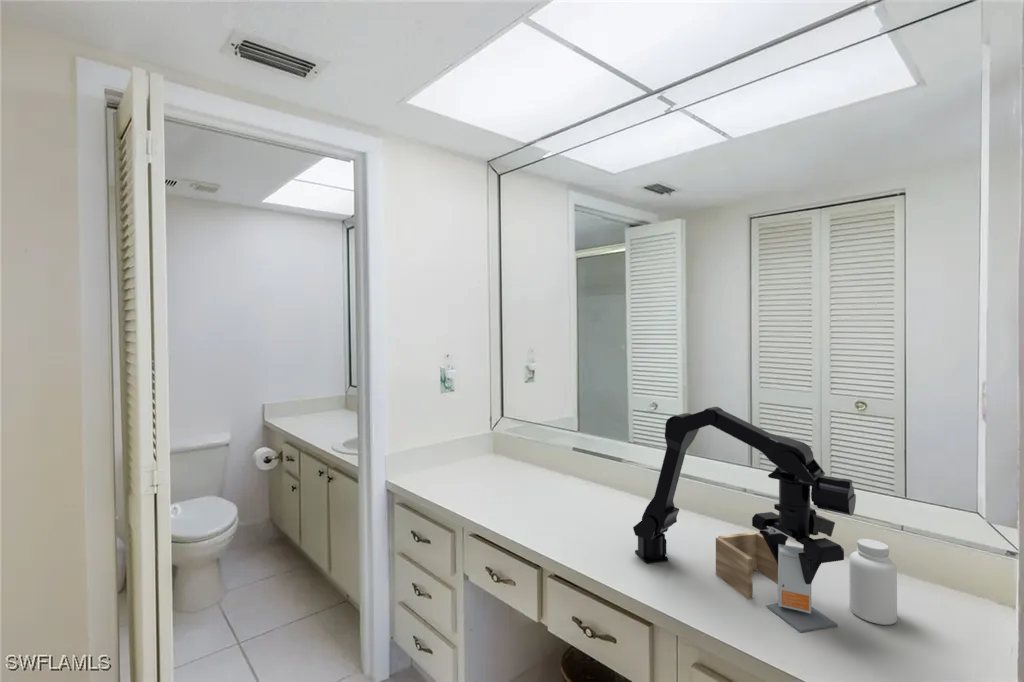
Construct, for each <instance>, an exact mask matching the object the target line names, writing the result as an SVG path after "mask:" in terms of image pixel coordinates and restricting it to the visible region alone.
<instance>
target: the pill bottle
mask: <svg viewBox="0 0 1024 682" xmlns="http://www.w3.org/2000/svg"><path fill="white" fill-rule="evenodd" d="M856 546H857V547H856V551H853V552H851V554H850V555H849V557H848V559H849V562H848V563H849V566H848V567H849V571H848V572H849V573H848V574H849V586H848V587H849V592H848V593H849V608H850V610H851V612H852V613H853V614H854V615H855V616H856V617H858V618H860V619H862V620H864V621H866V622H870V623H874V624H877V625H884V626H890V625H893V624H895V623H896V622H897V620H898V570H897V566H896V564H895V562H894V561H893V559H891V558H890V556H889V555H890V547H889V546H888V545H887V544H886V543H884V542H882V541H879V540H875V539H872V538H871V539H870V538H860V539H858V540H857V541H856Z"/></svg>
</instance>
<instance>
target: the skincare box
mask: <svg viewBox="0 0 1024 682" xmlns="http://www.w3.org/2000/svg"><path fill="white" fill-rule="evenodd" d="M803 552H804V551H803V547H798V546H794V545H788V544H786V545H782V544H778V584H777V601H778V602H777V603H779V606H780V607H785V608H790V609H794V610H798V611H802V612H806V613H810V614H811V606H812V585H813V582H812V583H811V584H806V583H805V581H804V577H803V573H802V568H801V564H800V559H799V555H798V553H803Z"/></svg>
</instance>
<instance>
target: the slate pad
mask: <svg viewBox="0 0 1024 682" xmlns="http://www.w3.org/2000/svg"><path fill="white" fill-rule="evenodd" d="M765 607H766V608H767V609H768V610H770V612H773V613H774V614H775V615H776V616H778V617H779V618H780V619H781V620H783V621H784V622H786V623H787V624H788V625H790V626H791V627H792V628H793V629H795V630H796V631H798V632H799V633H806V632H812V631H817V630H823V629H828V628H834V627H838V623H837V622H835V621H834V620H832V619H831V618H829V617H828V616H826V614H823V613H822V612H821V611H819V610H818V609H816V608H814V607H813V606H812V605H811V614H810V613H806V612H802V611H798V610H794V609H790V608H785V607H780V606H779V603H778V602H777V603H771V604H766V606H765Z"/></svg>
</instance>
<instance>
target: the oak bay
mask: <svg viewBox="0 0 1024 682" xmlns="http://www.w3.org/2000/svg"><path fill="white" fill-rule="evenodd" d="M754 571H758V572H759V573H761V574H762V575H764V576H765V577H766V578H768V579H770V580H772V581H773V582H774V583H775V584H777V585H778V565H777V562H776V560H775V558H774V556H773V554H772V552H771V550H770V548H769V547H768V545H767V543H766V541H765V539H764V538H763V536H762V535H761V534H760V532H754V531H751V532H750V531H749V532H743V533H736V534H735V533H733V534H726V535H719V536H718V537H715V575H716V576H718V577H719V578H720V579H722V580H723V581H725V583H726V584H728V585H729V586H731V587H732V588H733V589H734V590H736V591H737V592H738V593H740V594H741V595H742V596H743V597H744V598H746V599H747V600H751V599H754V598H753V595H754V592H753V589H754V588H753V583H754V582H753V577H754V576H753V575H754Z"/></svg>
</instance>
